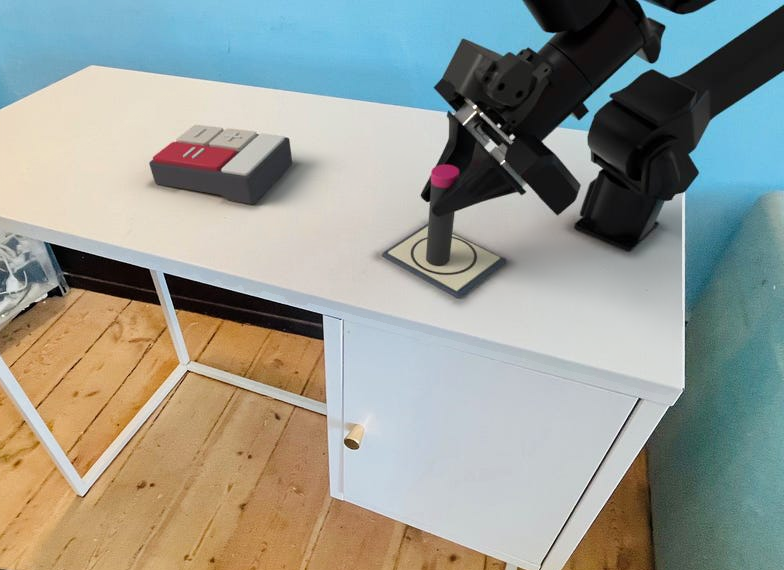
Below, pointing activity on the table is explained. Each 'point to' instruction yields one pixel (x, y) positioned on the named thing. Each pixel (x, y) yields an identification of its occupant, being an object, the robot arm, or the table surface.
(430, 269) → the coaster
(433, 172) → the dot marker
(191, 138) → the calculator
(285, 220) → the table surface
